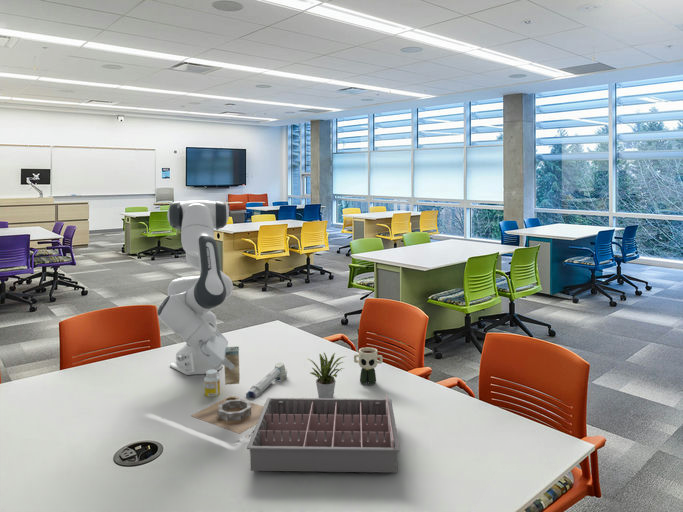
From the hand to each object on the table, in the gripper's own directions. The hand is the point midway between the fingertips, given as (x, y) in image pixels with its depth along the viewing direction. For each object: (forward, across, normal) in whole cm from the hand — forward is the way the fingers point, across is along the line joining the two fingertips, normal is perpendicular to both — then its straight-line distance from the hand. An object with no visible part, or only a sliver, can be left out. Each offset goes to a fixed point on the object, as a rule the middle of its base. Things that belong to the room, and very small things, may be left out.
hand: (233, 364), depth 164 cm
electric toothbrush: (+21, +22, +6) cm, 31 cm away
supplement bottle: (+7, +17, +19) cm, 27 cm away
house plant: (+36, +10, -10) cm, 39 cm away
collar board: (+13, 0, +13) cm, 18 cm away
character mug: (+48, +20, -22) cm, 56 cm away
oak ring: (+11, +9, +13) cm, 19 cm away
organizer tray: (+32, -23, -6) cm, 40 cm away
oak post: (+4, 0, +5) cm, 6 cm away
